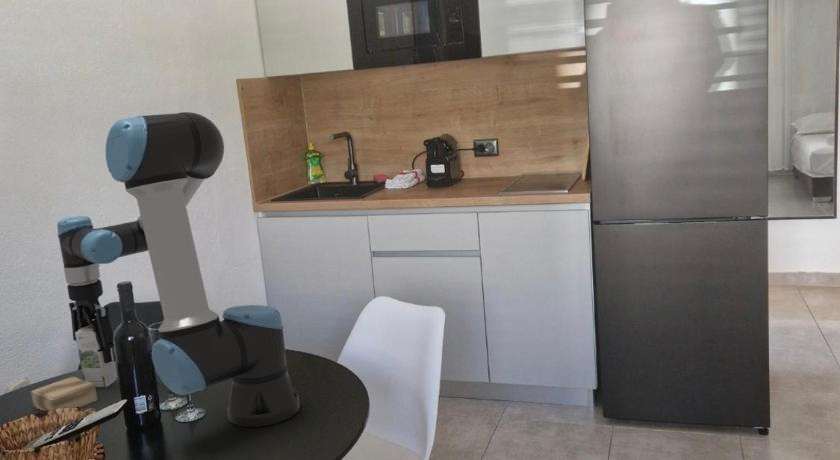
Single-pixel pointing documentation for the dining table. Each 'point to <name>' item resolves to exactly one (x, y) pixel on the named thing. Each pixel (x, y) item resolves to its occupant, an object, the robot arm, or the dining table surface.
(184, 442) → the dining table surface
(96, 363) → the syrup box
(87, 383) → the oak riser block
